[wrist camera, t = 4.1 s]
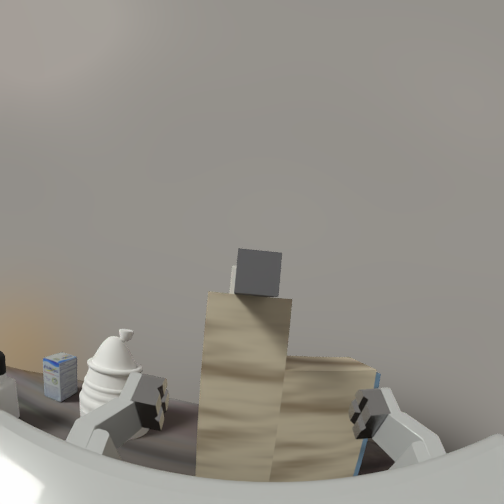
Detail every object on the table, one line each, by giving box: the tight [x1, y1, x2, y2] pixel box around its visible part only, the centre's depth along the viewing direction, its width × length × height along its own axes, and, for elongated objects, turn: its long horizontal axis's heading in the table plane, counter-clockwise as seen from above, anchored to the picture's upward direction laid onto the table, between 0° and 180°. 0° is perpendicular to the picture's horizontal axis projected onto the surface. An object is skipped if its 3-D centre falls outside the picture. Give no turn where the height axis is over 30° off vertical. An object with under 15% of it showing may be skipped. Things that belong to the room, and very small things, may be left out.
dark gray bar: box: [229, 248, 282, 297], centre depth 30 cm, size 20×4×4 cm, turn 3°
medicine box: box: [43, 352, 77, 402], centre depth 46 cm, size 8×4×9 cm, turn 5°
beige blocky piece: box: [196, 291, 381, 482], centre depth 29 cm, size 8×19×26 cm, turn 93°
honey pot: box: [79, 329, 149, 440], centre depth 42 cm, size 13×13×18 cm
